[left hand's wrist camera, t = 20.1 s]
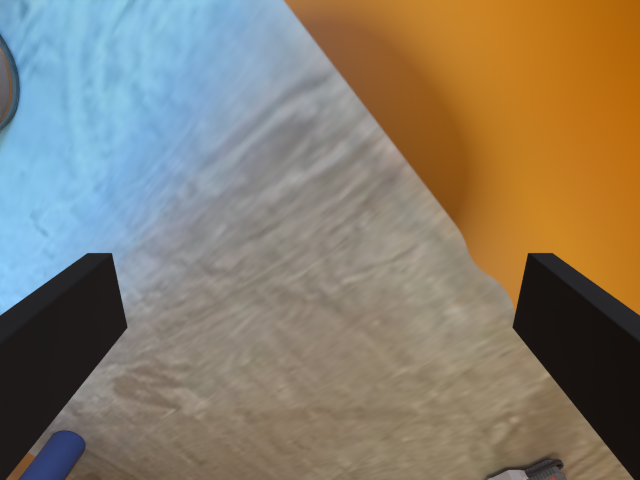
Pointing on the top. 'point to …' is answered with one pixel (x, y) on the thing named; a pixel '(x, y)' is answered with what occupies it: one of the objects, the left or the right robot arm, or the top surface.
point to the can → (56, 457)
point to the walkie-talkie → (535, 472)
